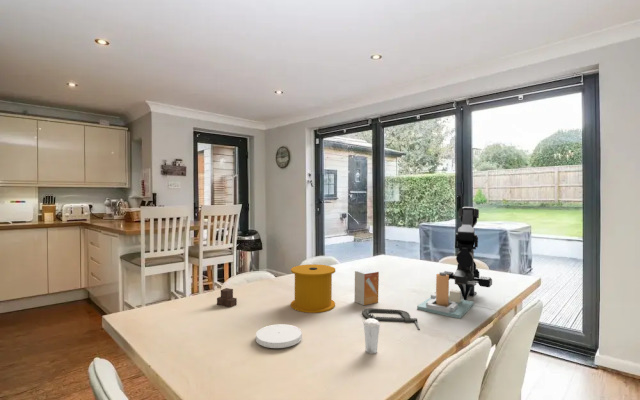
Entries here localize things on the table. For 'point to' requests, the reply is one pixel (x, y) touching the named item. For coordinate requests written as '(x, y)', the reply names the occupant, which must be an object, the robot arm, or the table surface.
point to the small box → (366, 286)
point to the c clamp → (404, 318)
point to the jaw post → (442, 289)
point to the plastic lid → (278, 336)
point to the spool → (313, 288)
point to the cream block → (455, 296)
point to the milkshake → (371, 335)
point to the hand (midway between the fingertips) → (465, 299)
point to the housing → (452, 309)
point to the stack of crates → (227, 298)
